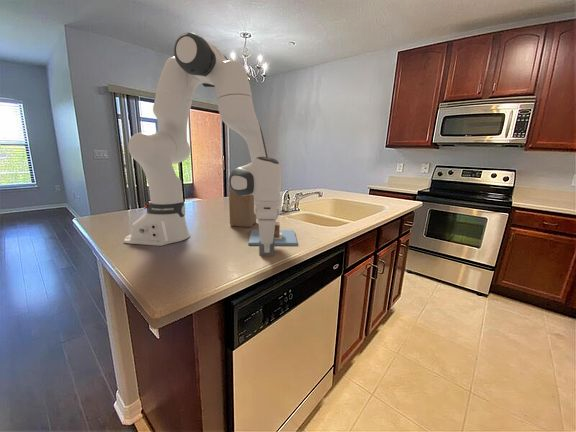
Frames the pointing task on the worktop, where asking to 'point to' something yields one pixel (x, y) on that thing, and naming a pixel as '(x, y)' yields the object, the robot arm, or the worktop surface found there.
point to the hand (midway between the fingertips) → (267, 247)
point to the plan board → (284, 238)
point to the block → (241, 210)
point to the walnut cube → (277, 230)
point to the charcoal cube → (261, 248)
